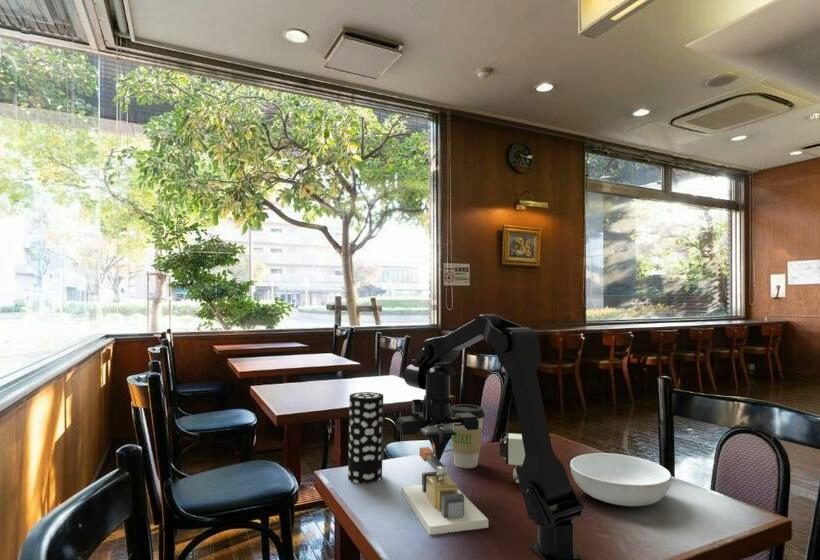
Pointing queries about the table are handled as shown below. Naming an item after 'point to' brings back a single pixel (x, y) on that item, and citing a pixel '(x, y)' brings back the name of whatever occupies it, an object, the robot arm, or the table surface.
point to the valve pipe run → (443, 495)
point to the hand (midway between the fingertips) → (437, 460)
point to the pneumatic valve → (513, 451)
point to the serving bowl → (620, 478)
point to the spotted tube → (365, 437)
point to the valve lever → (433, 462)
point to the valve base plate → (433, 516)
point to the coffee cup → (466, 437)
